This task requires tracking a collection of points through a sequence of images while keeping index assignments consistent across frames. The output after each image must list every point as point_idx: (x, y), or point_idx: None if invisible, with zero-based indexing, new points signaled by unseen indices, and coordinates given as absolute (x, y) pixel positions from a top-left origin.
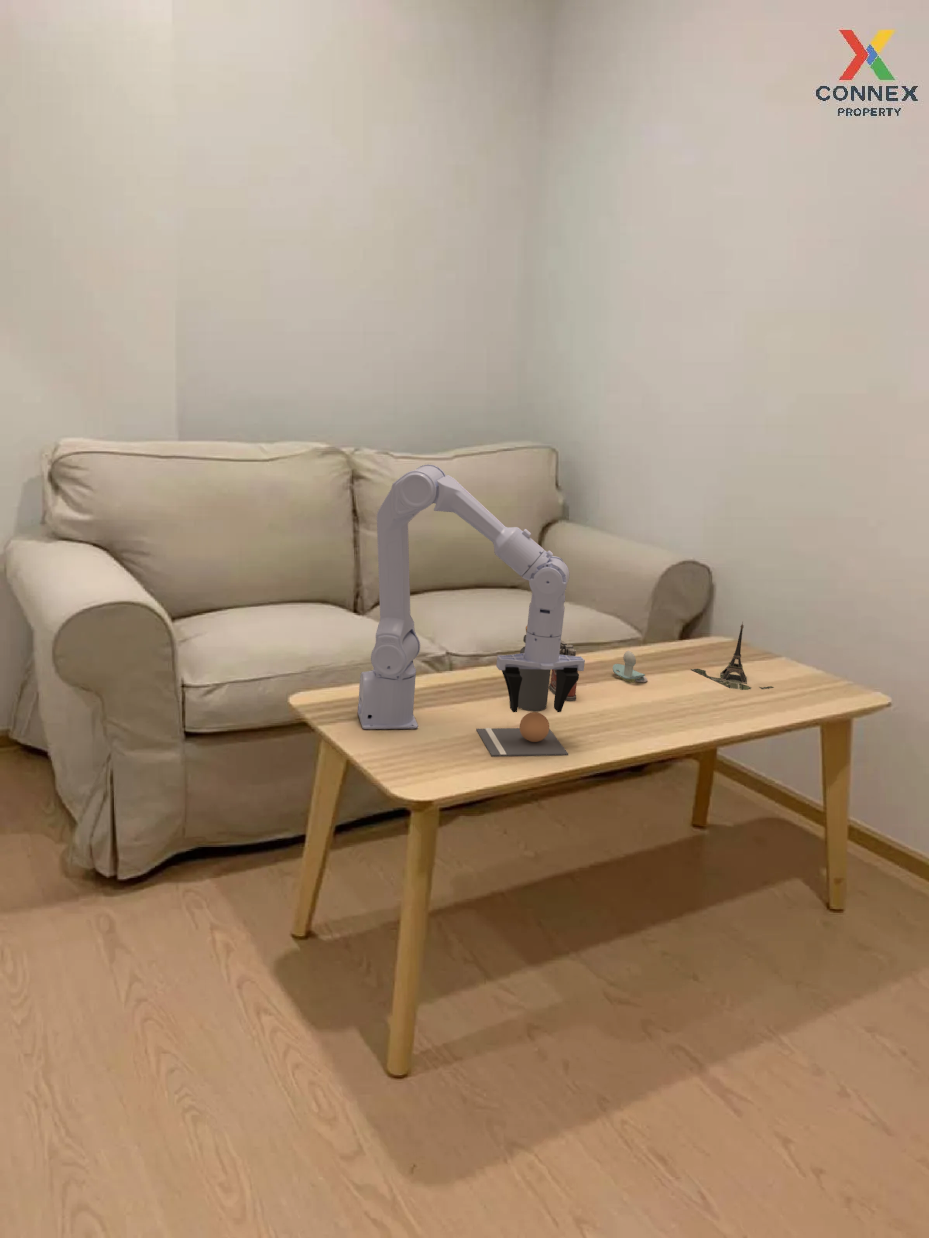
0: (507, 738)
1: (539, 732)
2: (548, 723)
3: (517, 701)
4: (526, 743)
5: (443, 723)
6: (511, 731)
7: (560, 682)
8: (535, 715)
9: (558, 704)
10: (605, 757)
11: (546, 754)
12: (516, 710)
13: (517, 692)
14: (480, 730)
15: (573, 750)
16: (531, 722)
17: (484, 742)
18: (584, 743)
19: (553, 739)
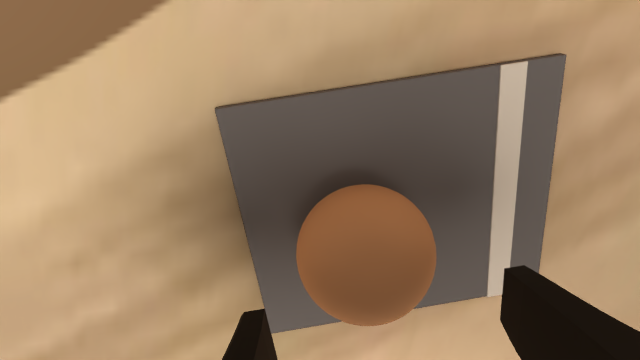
0: (450, 224)
1: (354, 193)
2: (306, 256)
3: (558, 304)
4: None
5: (620, 314)
6: None
7: None
8: (387, 276)
9: (261, 347)
10: (35, 105)
11: (318, 91)
12: (516, 271)
13: (622, 352)
14: None
15: (188, 163)
16: (405, 231)
17: (550, 176)
18: (136, 236)
19: (266, 241)
